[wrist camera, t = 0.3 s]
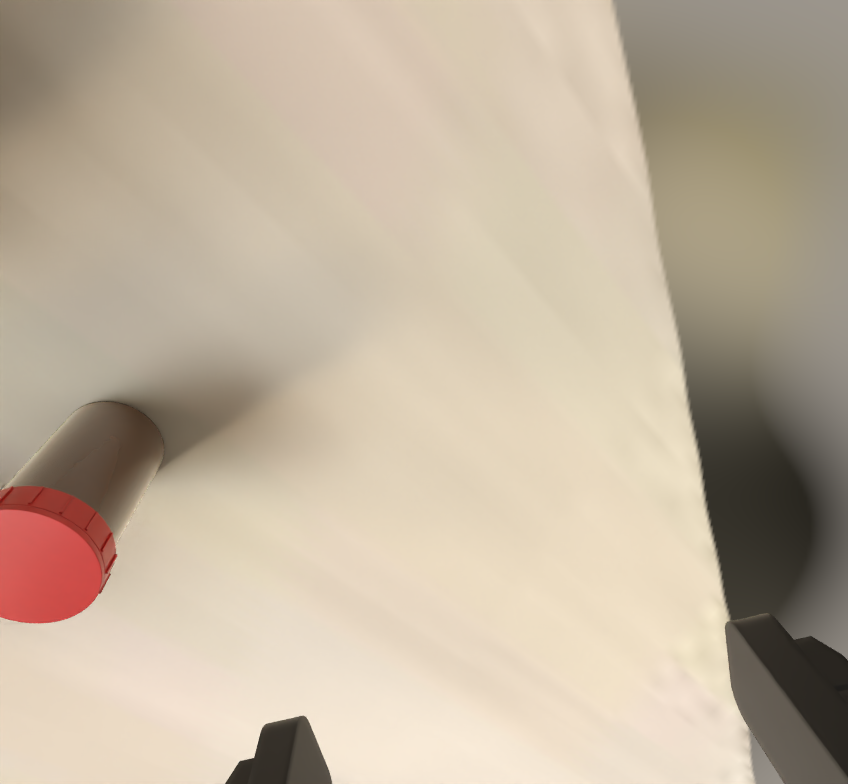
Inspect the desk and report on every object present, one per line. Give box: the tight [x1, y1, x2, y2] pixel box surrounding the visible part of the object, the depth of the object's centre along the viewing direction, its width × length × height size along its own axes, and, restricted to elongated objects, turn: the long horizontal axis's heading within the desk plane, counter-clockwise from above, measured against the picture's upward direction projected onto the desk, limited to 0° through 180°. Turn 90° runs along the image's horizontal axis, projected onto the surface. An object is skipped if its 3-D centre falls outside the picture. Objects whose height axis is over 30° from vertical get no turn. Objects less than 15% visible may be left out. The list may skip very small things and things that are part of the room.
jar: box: [2, 401, 164, 546], centre depth 29 cm, size 5×5×9 cm
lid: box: [0, 486, 117, 623], centre depth 25 cm, size 6×6×2 cm
